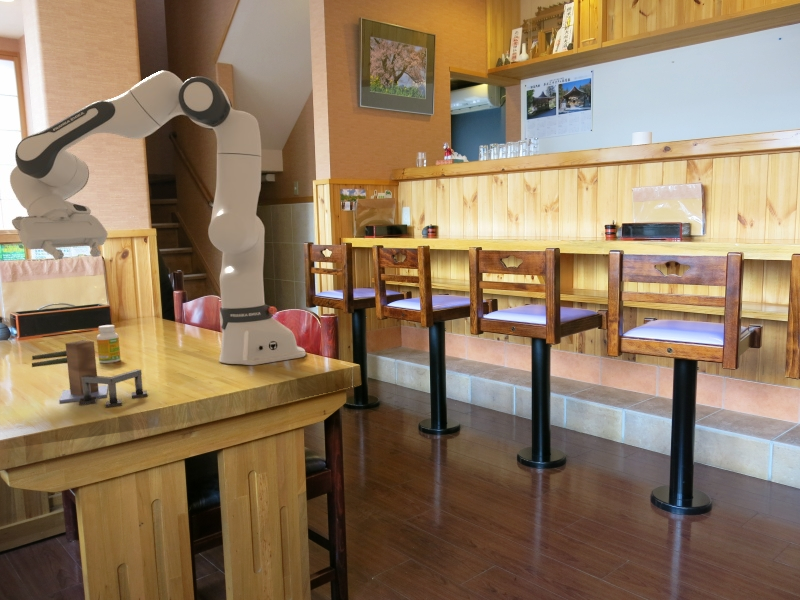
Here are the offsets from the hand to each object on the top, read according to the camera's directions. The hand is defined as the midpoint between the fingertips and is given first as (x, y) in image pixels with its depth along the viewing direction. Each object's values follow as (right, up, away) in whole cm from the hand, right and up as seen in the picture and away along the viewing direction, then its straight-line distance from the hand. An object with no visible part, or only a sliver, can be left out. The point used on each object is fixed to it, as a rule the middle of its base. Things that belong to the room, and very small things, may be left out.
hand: (79, 256), depth 158 cm
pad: (+9, -31, -15) cm, 36 cm away
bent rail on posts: (+18, -32, -21) cm, 42 cm away
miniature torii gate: (-18, -28, +27) cm, 42 cm away
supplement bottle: (-2, -27, +21) cm, 34 cm away
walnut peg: (+9, -31, -15) cm, 35 cm away
